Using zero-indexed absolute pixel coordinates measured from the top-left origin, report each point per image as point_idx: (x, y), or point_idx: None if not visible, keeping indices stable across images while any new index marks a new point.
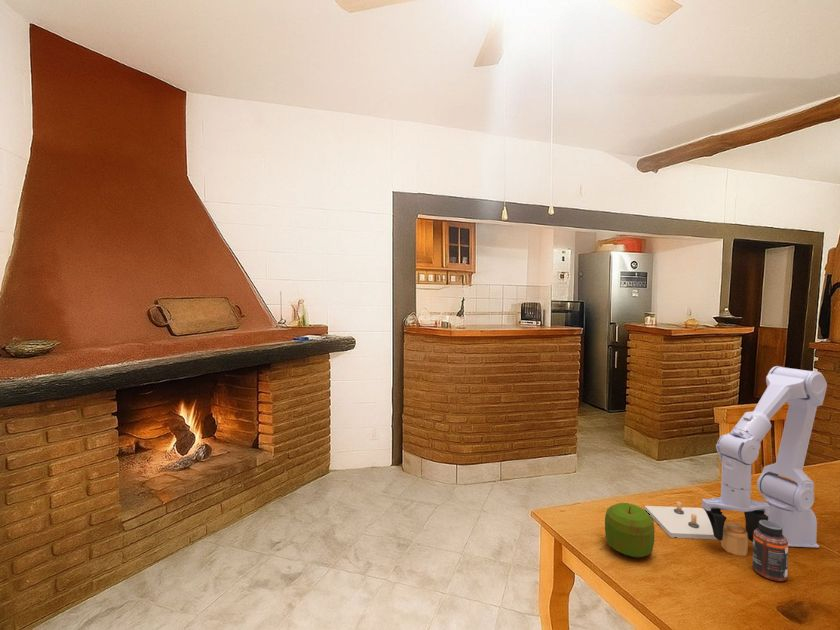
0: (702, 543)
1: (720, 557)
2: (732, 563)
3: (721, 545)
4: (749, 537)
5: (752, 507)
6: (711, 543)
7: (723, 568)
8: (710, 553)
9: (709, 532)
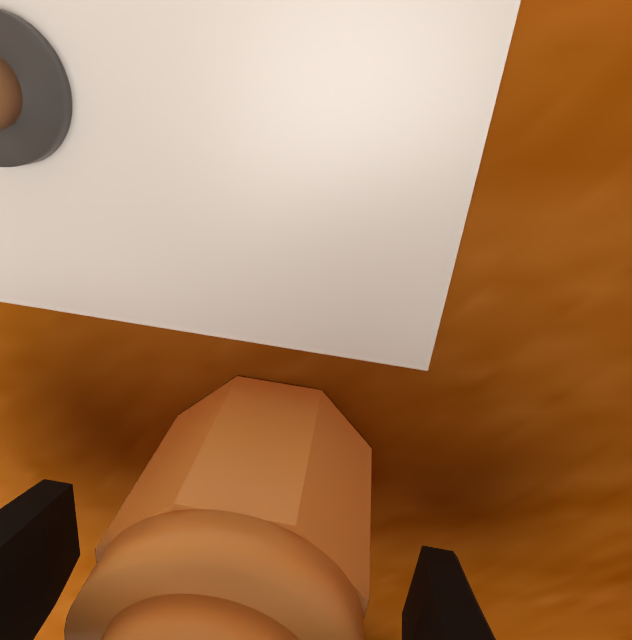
0: (24, 352)
1: None
2: None
3: (173, 425)
4: (415, 607)
5: None
6: (114, 361)
7: None
8: (22, 478)
9: (137, 275)
